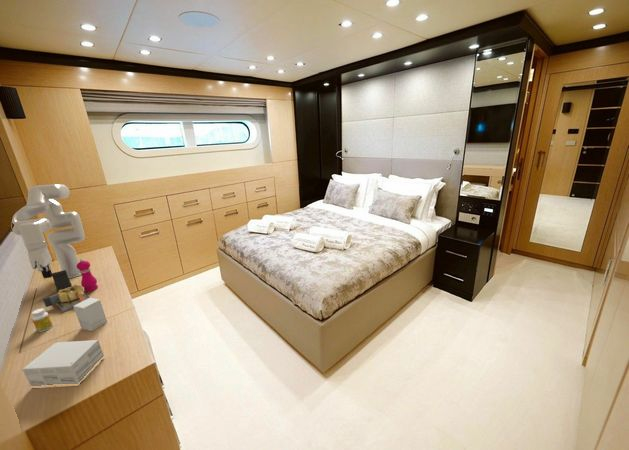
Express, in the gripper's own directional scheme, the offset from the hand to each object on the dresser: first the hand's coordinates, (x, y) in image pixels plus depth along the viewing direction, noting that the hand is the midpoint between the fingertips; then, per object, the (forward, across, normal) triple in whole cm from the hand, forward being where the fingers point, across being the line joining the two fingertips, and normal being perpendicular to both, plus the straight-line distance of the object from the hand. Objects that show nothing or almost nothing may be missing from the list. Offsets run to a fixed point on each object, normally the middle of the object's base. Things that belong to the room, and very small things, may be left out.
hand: (48, 277), depth 141 cm
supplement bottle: (+16, +26, +4) cm, 31 cm away
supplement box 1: (+17, +65, +25) cm, 72 cm away
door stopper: (+15, -16, -2) cm, 22 cm away
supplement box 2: (+16, +35, +25) cm, 46 cm away
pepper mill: (+16, -8, +13) cm, 22 cm away
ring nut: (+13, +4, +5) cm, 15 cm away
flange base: (+16, +3, +8) cm, 18 cm away
